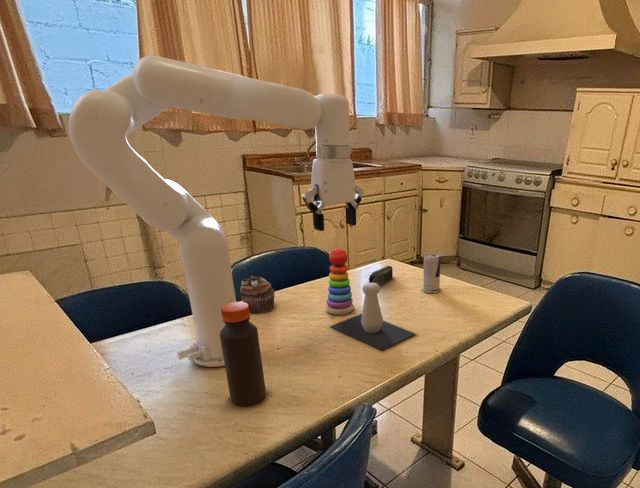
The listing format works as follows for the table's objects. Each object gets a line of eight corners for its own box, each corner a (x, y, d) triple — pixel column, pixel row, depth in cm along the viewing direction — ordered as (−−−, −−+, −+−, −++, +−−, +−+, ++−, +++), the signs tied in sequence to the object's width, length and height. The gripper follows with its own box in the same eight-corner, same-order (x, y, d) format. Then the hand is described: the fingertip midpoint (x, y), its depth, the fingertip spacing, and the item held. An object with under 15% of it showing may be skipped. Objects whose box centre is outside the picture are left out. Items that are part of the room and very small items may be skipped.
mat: (382, 351, 111) (382, 349, 111) (330, 327, 123) (330, 325, 123) (415, 335, 120) (415, 333, 119) (363, 314, 132) (363, 312, 132)
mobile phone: (386, 264, 161) (365, 275, 148) (394, 265, 160) (373, 276, 147) (386, 277, 162) (365, 290, 150) (394, 278, 161) (373, 291, 148)
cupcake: (267, 315, 130) (263, 282, 126) (236, 313, 131) (231, 280, 128) (282, 303, 139) (278, 272, 135) (253, 300, 140) (248, 270, 136)
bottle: (225, 396, 93) (209, 306, 85) (256, 384, 97) (244, 297, 89) (239, 411, 88) (224, 317, 81) (272, 397, 92) (260, 307, 85)
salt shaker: (359, 326, 123) (357, 281, 118) (380, 324, 125) (379, 279, 120) (363, 335, 118) (362, 289, 113) (385, 333, 120) (384, 286, 115)
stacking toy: (351, 316, 130) (348, 253, 123) (324, 315, 130) (319, 252, 123) (355, 305, 138) (353, 245, 131) (329, 305, 138) (325, 245, 131)
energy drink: (442, 289, 151) (443, 255, 146) (434, 294, 147) (435, 259, 142) (428, 286, 154) (429, 252, 149) (420, 291, 149) (420, 256, 145)
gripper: (351, 151, 112) (353, 220, 119) (291, 153, 100) (296, 229, 107) (372, 153, 108) (372, 225, 114) (311, 155, 96) (315, 235, 102)
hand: (335, 227), depth 110 cm, fingers open, 9 cm apart
